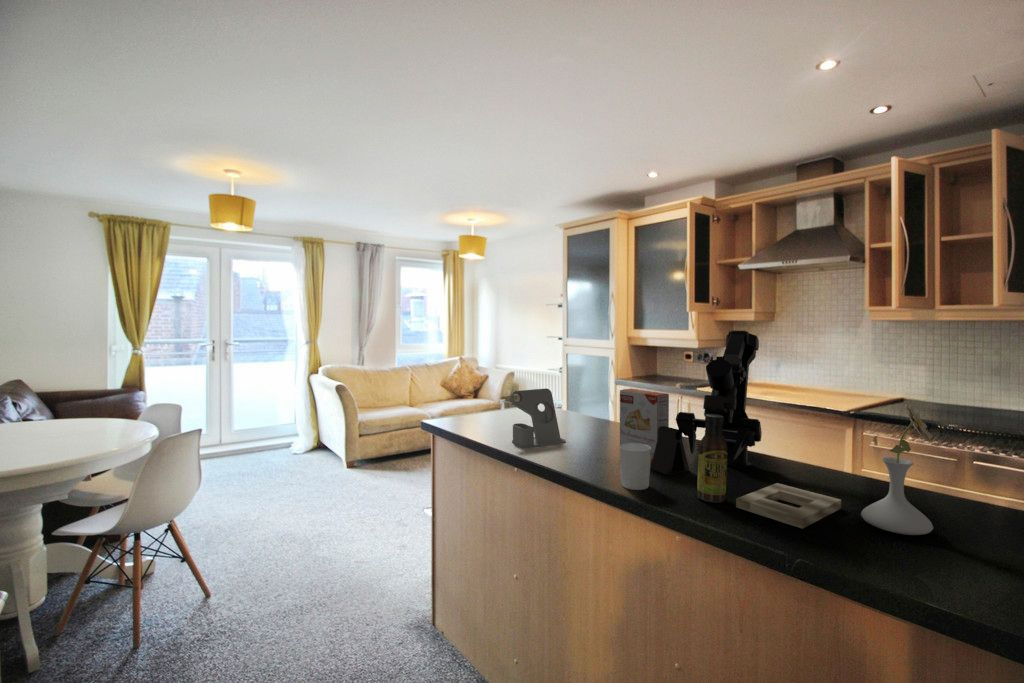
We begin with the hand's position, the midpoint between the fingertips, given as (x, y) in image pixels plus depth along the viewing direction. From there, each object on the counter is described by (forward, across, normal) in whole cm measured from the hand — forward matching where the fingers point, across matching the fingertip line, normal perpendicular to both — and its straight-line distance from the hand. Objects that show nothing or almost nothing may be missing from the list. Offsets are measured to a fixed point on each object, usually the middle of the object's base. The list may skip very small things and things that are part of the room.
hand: (712, 456), depth 114 cm
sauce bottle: (+7, 0, +8) cm, 11 cm away
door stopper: (-5, -15, +20) cm, 25 cm away
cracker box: (-9, -24, +24) cm, 35 cm away
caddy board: (+4, +15, +10) cm, 19 cm away
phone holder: (-11, -62, +26) cm, 68 cm away
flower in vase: (+5, +35, +10) cm, 36 cm away
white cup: (+8, -18, +7) cm, 21 cm away
